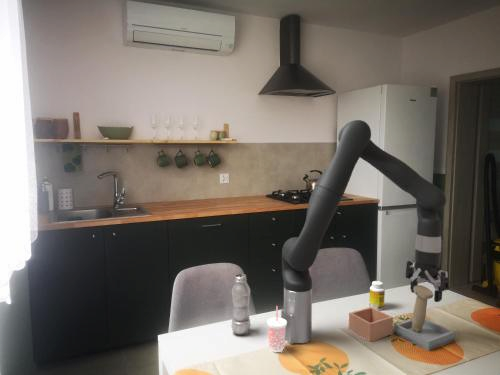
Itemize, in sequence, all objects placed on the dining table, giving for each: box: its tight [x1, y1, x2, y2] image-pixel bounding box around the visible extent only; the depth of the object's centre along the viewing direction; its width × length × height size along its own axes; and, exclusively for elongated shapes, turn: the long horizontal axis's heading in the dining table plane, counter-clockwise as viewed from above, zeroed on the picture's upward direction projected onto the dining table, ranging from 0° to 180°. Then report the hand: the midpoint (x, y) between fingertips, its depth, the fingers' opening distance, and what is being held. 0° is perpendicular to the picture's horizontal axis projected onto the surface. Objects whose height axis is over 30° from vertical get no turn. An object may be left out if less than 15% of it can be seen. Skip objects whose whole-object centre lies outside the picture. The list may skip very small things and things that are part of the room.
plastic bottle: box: [231, 273, 252, 335], centre depth 125 cm, size 6×7×20 cm
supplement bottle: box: [368, 280, 386, 311], centre depth 145 cm, size 6×6×10 cm
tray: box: [393, 318, 456, 352], centre depth 123 cm, size 13×13×3 cm
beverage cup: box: [266, 305, 287, 352], centre depth 115 cm, size 6×6×14 cm
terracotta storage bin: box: [348, 306, 394, 343], centre depth 126 cm, size 11×10×6 cm
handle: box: [411, 284, 434, 332], centre depth 123 cm, size 5×6×15 cm
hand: (425, 296), depth 121 cm, fingers open, 8 cm apart
